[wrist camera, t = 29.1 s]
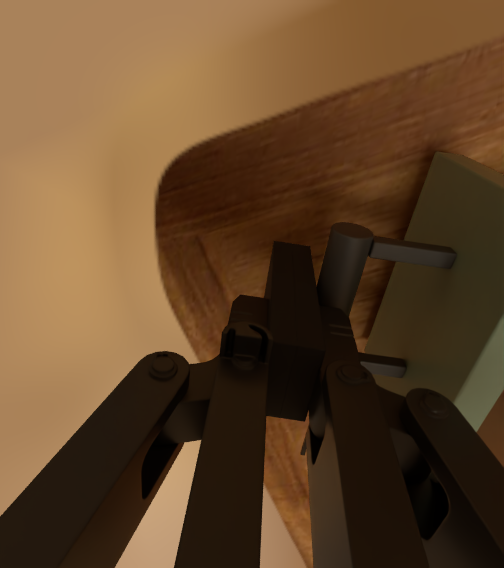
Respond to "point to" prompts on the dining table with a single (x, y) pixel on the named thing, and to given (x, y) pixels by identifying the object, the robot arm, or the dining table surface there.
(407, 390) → the drawer
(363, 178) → the dining table surface
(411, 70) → the dining table surface
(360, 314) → the dining table surface
